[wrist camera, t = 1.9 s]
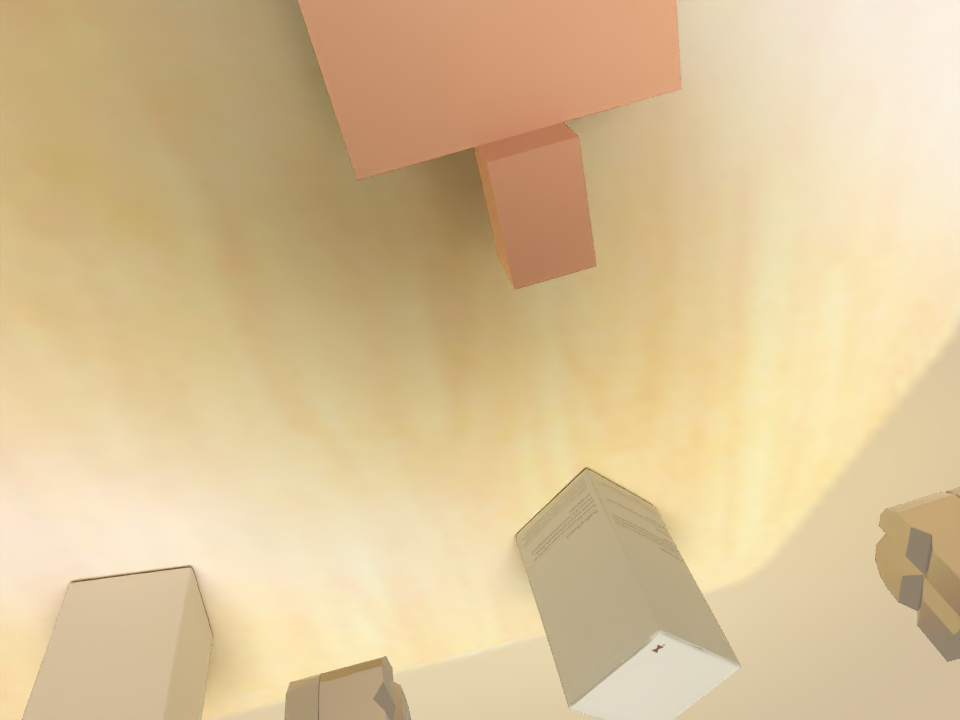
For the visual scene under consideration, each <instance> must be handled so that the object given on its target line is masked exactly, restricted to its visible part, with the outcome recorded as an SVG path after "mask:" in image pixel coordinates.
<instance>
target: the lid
mask: <svg viewBox="0 0 960 720" xmlns="http://www.w3.org/2000/svg"><path fill="white" fill-rule="evenodd" d="M298 3H299V6H300V9H301V12H302V15H303V18H304V21H305V24H306V27H307V30H308V33H309V36H310V39H311V42H312V45H313V49H314V52H315V55H316V58H317V61H318V64H319V67H320V70H321V73H322V76H323V79H324V82H325V85H326V88H327V91H328V94H329V97H330V100H331V103H332V106H333V109H334V112H335V115H336V118H337V121H338V124H339V127H340V130H341V133H342V136H343V139H344V142H345V145H346V148H347V151H348V154H349V157H350V160H351V163H352V166H353V169H354V172H355V175H356V178H357V180H360V179H363V178H367V177H371V176H374V175H378V174H381V173H385V172H388V171H392V170H395V169H399V168H402V167H406V166H410V165H413V164H417V163H420V162H424V161H427V160H431V159H434V158H438V157H441V156H445V155H449V154H452V153H456V152H459V151H463V150H466V149H470V148H473V147H474V152H475V156H476V160H477V165H478V169H479V174H480V178H481V182H482V187H483V191H484V196H485V200H486V204H487V209H488V213H489V218H490V222H491V226H492V231H493V235H494V240H495V244H496V249H497V253H498V256H499V258H500V261H501V263H502V265H503V267H504V269H505V271H506V273H507V275H508V277H509V279H510V281H511V283H512V285H513V287H514V290H515V289H519V288H522V287H526V286H529V285H533V284H536V283H540V282H543V281H546V280H550V279H553V278H557V277H560V276H564V275H567V274H571V273H574V272H578V271H581V270H585V269H588V268H591V267H595V266H596V259H595V252H594V245H593V238H592V231H591V224H590V216H589V209H588V202H587V195H586V188H585V181H584V173H583V166H582V159H581V152H580V145H579V138H578V136H577V135H576V134H575V133H574V132H573V131H572V130H571V129H570V128H569V127H568V126H567V125H566V124H565V123H564V122H566V121H569V120H573V119H576V118H580V117H583V116H587V115H590V114H594V113H598V112H601V111H605V110H608V109H612V108H615V107H619V106H622V105H626V104H629V103H633V102H637V101H640V100H644V99H647V98H651V97H654V96H658V95H661V94H665V93H668V92H672V91H676V90H679V89H681V77H680V58H679V40H678V21H677V3H676V0H298Z"/></svg>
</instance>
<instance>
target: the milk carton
mask: <svg viewBox="0 0 960 720" xmlns="http://www.w3.org/2000/svg"><path fill="white" fill-rule="evenodd" d="M211 646H212V632H211V628H210V625H209V622H208V618H207V615H206V612H205V608H204V605H203V602H202V599H201V595H200V592H199V589H198V585H197V582H196V579H195V575H194V572H193V570H192V568H191V567H189V568H181V569H173V570H165V571H157V572H150V573H142V574H134V575H127V576H119V577H111V578H104V579H96V580H89V581H81V582H74V583H70V584H69V587H68V590H67V592H66V595H65V598H64V601H63V604H62V607H61V609H60V612H59V615H58V618H57V621H56V624H55V627H54V629H53V632H52V635H51V638H50V641H49V644H48V646H47V649H46V652H45V655H44V658H43V661H42V663H41V666H40V669H39V672H38V675H37V678H36V681H35V683H34V686H33V689H32V692H31V695H30V698H29V700H28V703H27V706H26V709H25V712H24V715H23V718H22V720H201V719H202V711H203V704H204V697H205V690H206V682H207V675H208V668H209V661H210V653H211Z"/></svg>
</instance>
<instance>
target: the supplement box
mask: <svg viewBox="0 0 960 720" xmlns="http://www.w3.org/2000/svg"><path fill="white" fill-rule="evenodd" d="M516 539H517V543H518V546H519V549H520V552H521V556H522V559H523V562H524V566H525V569H526V572H527V575H528V578H529V581H530V585H531V588H532V591H533V594H534V598H535V601H536V604H537V607H538V610H539V613H540V616H541V620H542V623H543V626H544V629H545V633H546V636H547V639H548V642H549V646H550V649H551V652H552V655H553V658H554V661H555V665H556V668H557V671H558V674H559V677H560V681H561V684H562V687H563V690H564V693H565V697H566V700H567V704H568V707H569V709H571V710H574V711H577V712H581V713H584V714H587V715H590V716H594V717H597V718H600V719H603V720H673V719H675V718H676V717H677V716H678V715H680V714H681V713H683V712H684V711H685V710H686V709H688V708H689V707H690V706H692V705H693V704H694V703H696V702H697V701H698V700H700V699H701V698H702V697H703V696H704V695H706V694H707V693H708V692H710V691H711V690H712V689H714V688H715V687H716V686H717V685H719V684H720V683H721V682H722V681H724V680H725V679H726V678H728V677H729V676H730V675H731V674H732V673H734V672H735V671H737V670H738V669H740V668H741V665H740V663H739V661H738V659H737V658H736V656H735V654H734V652H733V650H732V648H731V646H730V644H729V642H728V641H727V639H726V637H725V635H724V633H723V631H722V629H721V628H720V625H719V624H718V622H717V620H716V618H715V616H714V615H713V613H712V611H711V609H710V607H709V605H708V604H707V602H706V600H705V598H704V597H703V595H702V593H701V591H700V589H699V587H698V585H697V584H696V582H695V580H694V578H693V576H692V575H691V573H690V571H689V569H688V567H687V565H686V563H685V562H684V560H683V558H682V556H681V554H680V552H679V551H678V549H677V547H676V545H675V543H674V542H673V540H672V538H671V536H670V534H669V532H668V530H667V528H666V526H665V525H664V523H663V521H662V519H661V517H660V515H659V513H658V512H657V509H656V508H655V507H654V506H653V505H651V504H649V503H647V502H646V501H644V500H642V499H641V498H639V497H637V496H635V495H633V494H632V493H630V492H628V491H626V490H625V489H623V488H621V487H619V486H617V485H616V484H614V483H612V482H610V481H609V480H607V479H605V478H603V477H601V476H600V475H598V474H596V473H594V472H593V471H591V470H589V469H585V470H584V471H583V472H582V473H581V474H579V475H578V476H577V477H576V478H575V479H574V480H573V481H572V482H571V483H570V484H569V485H568V486H567V487H566V488H565V489H564V490H563V491H562V492H560V493H559V494H558V495H557V496H556V497H555V498H554V499H553V500H552V501H551V502H550V503H549V504H548V505H547V506H545V507H544V508H543V509H542V510H541V511H540V512H539V513H538V514H537V515H536V516H535V517H534V518H533V519H532V520H531V521H530V522H529V523H528V524H527V525H526V526H525V527H524V528H523V529H522V530H521V531H520V532H519V533H518V534H517V536H516Z"/></svg>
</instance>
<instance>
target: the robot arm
mask: <svg viewBox="0 0 960 720" xmlns="http://www.w3.org/2000/svg"><path fill="white" fill-rule="evenodd" d="M879 527H880V528H881V529H882V530H883V531H884V532H885V533H886V534H885V535H884V536H883V538H882V539H881V540H880V541H879V542H878V543H877V545H876V554H875V560H876V564H877V567H878V570H879V574H880V576H881V578H882V580H883V582H884V583H885V585H886V587H887V588H888V590H889V591H890V592H891V594H892V595H893V596H894V597H895V599H896V600H897V601H898V602H899V603H902V604H904V605H906V606H908V607H910V608H912V609H914V610H916V611H917V625H918V626H919V628H920V629H921V630H922V632H923V633H924V634H925V635H926V636H927V638H928V639H929V640H930V641H931V642H932V644H933V645H934V646H935V647H936V648H937V650H938V651H939V652H940V653H941V654H942V656H943V657H944V658H945V659H946V660H947V662H948V661H952V660H956V659H960V487H959V488H956V489H952V490H949V491H946V492H939V493H936V494H932V495H929V496H926V497H923V498H919V499H916V500H913V501H910V502H906V503H904V504H900V505H897V506H894V507H890V508H887V509H885V510H884V511H883V513H882V514H881V516H880V522H879ZM285 720H411V717H410V712H409V707H408V704H407V701H406V698H405V695H404V692H403V691H402V688H401V686H400V685H399V684H397V683H395V682H393V671H392V667H391V665H390V663H389V661H388V659H387V657H386V656H385V657H381V658H377V659H374V660H370V661H366V662H363V663H359V664H355V665H351V666H348V667H344V668H340V669H337V670H333V671H329V672H326V673H321V674H318V675H314V676H311V677H307V678H304V679H300V680H297V681H293V682H290V684H289V687H288V690H287V693H286V703H285Z"/></svg>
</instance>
